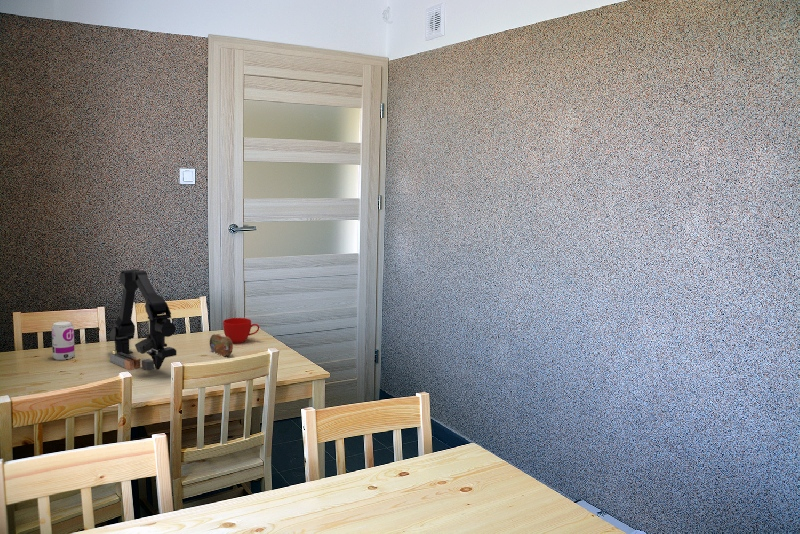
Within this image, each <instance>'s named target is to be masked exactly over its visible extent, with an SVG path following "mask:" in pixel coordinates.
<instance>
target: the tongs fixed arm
mask: <svg viewBox="0 0 800 534" xmlns="http://www.w3.org/2000/svg"><path fill="white" fill-rule="evenodd" d="M109 351H110V353H109V362H110V363H113V364H115V365H117V366H119V367H121V368H124V369H127V370H129V371H132V370H134V369H135V367H134V361H133V360H131V359H128V358H126V357H123V356H121V355H118V354H117V351H116V350H115V349H113V350H109Z"/></svg>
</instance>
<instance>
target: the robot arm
mask: <svg viewBox="0 0 800 534" xmlns="http://www.w3.org/2000/svg"><path fill="white" fill-rule="evenodd" d="M119 282H120V284H121V286H122V288H123V289H122V295H121V302H120V310H119V311H120V312H119V317H117V319H116V320H115V321H114V323H113V327H112V328H111V331H110V333H109V340H111V341H113V342H114V350H116V351H117V353H119V352H123V353H125V354H128V355H129V354H132V353H133V352H134V351H133V350H130V340H131V339H133V340H134V338H135V331H136V325H135V324H134V321H133V320H132V316H133V309H134V302H135V297H136V296H135V295H136V291H137V289H139V291H140V293H141V295H142V297H143V299H144V301H145V304H144V308H145V312H146V314H147V319H148V323H149V324H148V326H149V327H148V328H149V329H148V330H149V333H147V334H146V338H145V339H142V340H140V341H139V342H137V343H135V344H134V347H135V349H136V351H137V353H140V354H145V353H146V354H148V356H150V357H151V360H153V362H154V369H155V370H157V371H159V370H160V369H161V367H162V365H163V363H164V361H165V359H167V358H171V357H174V356H175V357H176V356H177V353H178V352H177V349H176V348H174V347H171V346H168V344H167V343H166V337H167V338H169V337H172V336H173V335H174V334H175V332H176V326H175V324H174V323H173V322H171V321H172V320H171V319H172V312H171V310H170V307H169V305H168V303H167V302H166V300H165V299H164V298H163V297H162V296H161V295H158V293H157V292H156V290H155V288H154V286H153V284H152V282H151V281H150V279H149V277H148V273H147V271H146V270H140V269H138V268H137V269H125V270H122V271H121V272H120V273H119Z"/></svg>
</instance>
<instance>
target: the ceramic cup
mask: <svg viewBox="0 0 800 534" xmlns="http://www.w3.org/2000/svg"><path fill="white" fill-rule="evenodd" d="M222 325H223V326H222V327H223V333H224V336H226V337H229V338H230V339H231V340H232V343H233V344H242V343H244V342H246V340H247V339H248V337H249V336H252V335H255V334H257V333H258V332H259V330H260V326H259V324H258V323H252V319H250V318H244V317H232V318H226V319H223V321H222ZM254 326H256V327H257V329H256V330H255V331H254V332H251V329H252V327H254Z"/></svg>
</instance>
